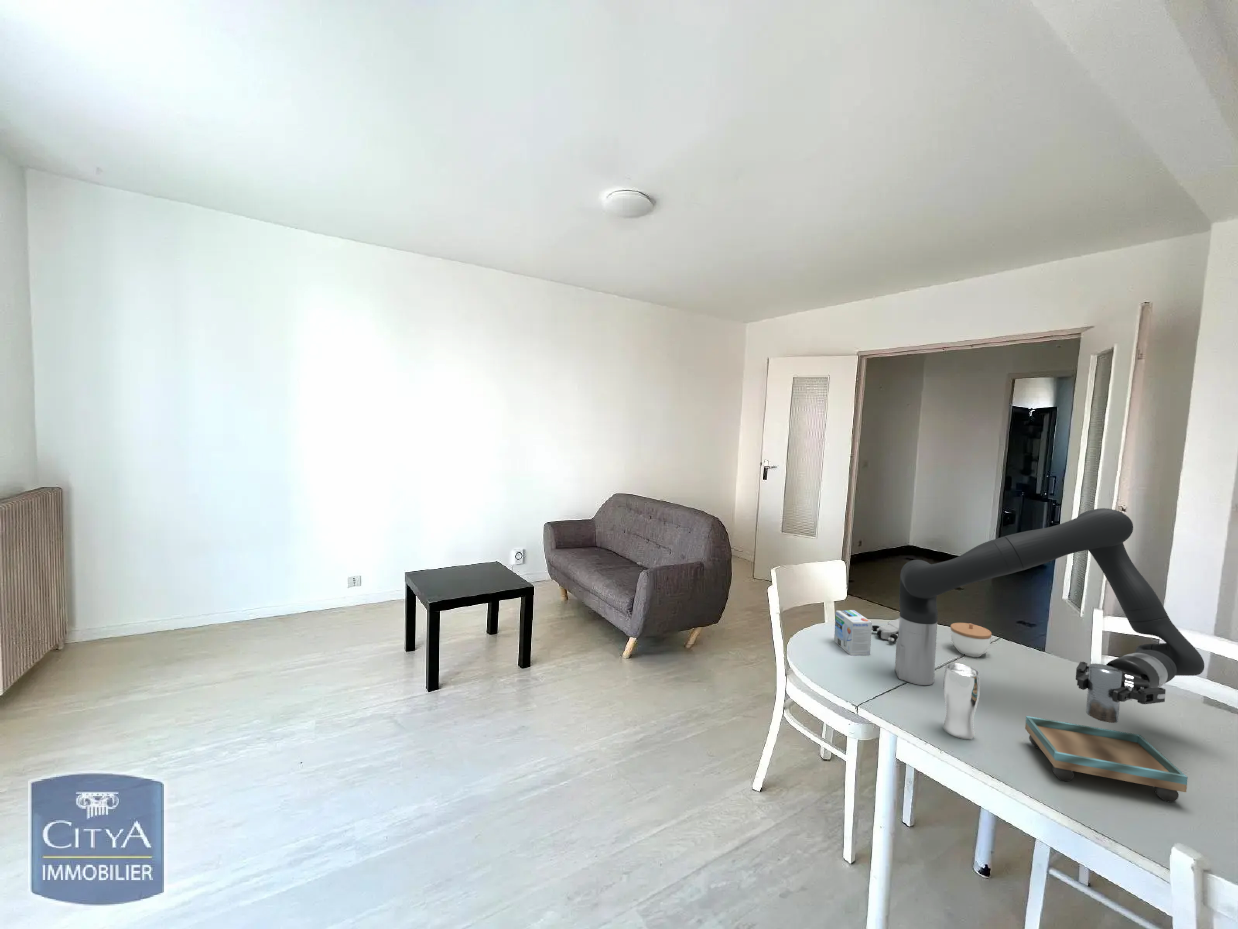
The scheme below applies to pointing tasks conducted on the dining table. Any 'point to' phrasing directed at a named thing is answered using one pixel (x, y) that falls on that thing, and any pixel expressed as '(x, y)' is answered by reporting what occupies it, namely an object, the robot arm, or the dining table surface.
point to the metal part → (1103, 692)
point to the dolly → (1105, 755)
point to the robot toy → (888, 630)
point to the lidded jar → (970, 639)
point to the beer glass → (961, 699)
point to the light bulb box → (853, 632)
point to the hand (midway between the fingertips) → (1097, 690)
